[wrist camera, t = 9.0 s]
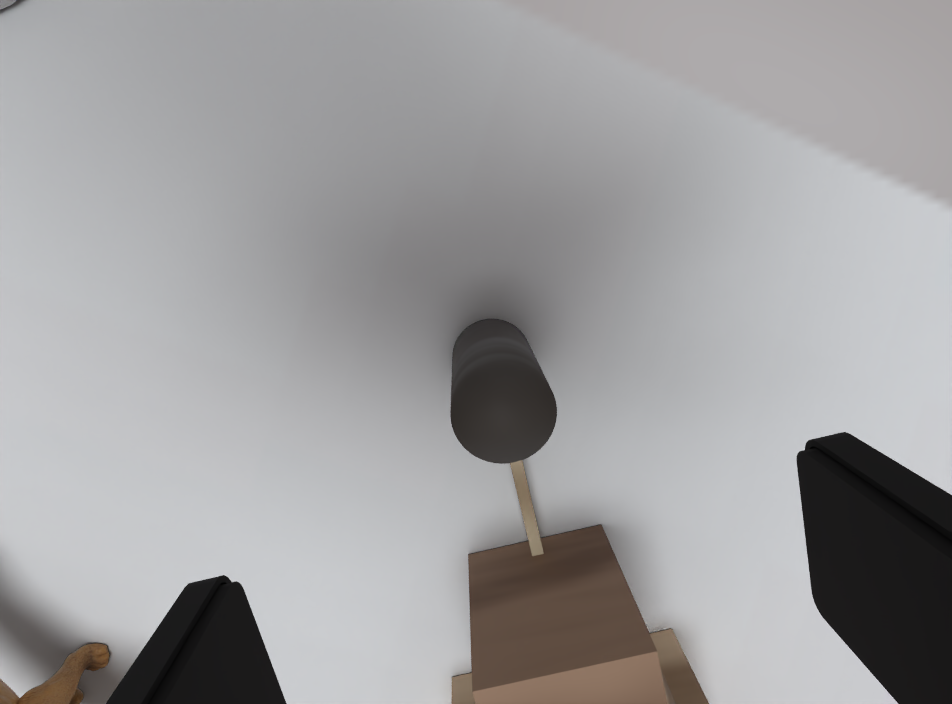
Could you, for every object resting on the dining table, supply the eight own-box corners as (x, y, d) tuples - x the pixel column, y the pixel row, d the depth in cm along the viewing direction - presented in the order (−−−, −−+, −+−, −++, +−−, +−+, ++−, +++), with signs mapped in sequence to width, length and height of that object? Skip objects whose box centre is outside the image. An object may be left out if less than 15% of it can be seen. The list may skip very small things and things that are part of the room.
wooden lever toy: (410, 337, 25) (389, 397, 18) (555, 302, 25) (598, 348, 18) (498, 667, 29) (512, 836, 22) (624, 639, 29) (685, 799, 21)
